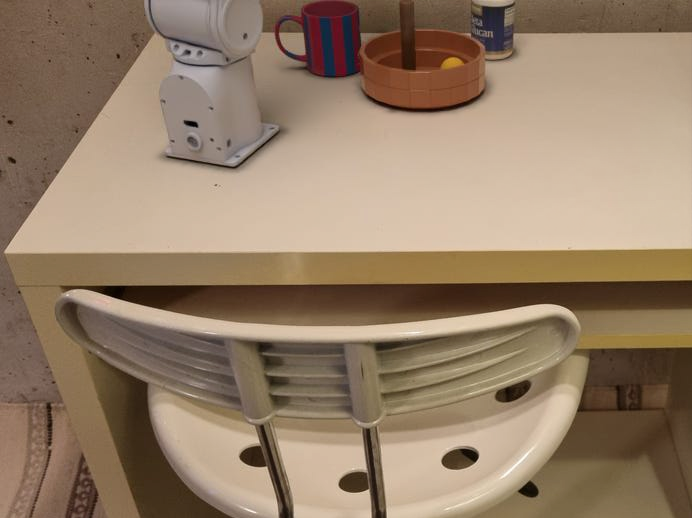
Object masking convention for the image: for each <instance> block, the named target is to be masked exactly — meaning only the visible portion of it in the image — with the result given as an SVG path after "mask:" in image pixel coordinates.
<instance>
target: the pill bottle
mask: <svg viewBox="0 0 692 518" xmlns="http://www.w3.org/2000/svg"><path fill="white" fill-rule="evenodd" d="M515 9H516V0H470V36H471V37H473V38H475V39H477V40H479V41H480V42H481V43H482V44H483V45H484V46H485V60H491V61H493V60H495V61H496V60H503V59H506V58H508V57H510V56H511V55H512V54H513V50H514V31H515V11H516V10H515Z"/></svg>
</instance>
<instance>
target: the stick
mask: <svg viewBox="0 0 692 518" xmlns="http://www.w3.org/2000/svg"><path fill="white" fill-rule="evenodd" d="M398 4H399V5H398V6H399V9H398V10H399V30H400V31H401V54H402V69H405V70H416V50H415V29H416V25H415V24H416V22H415V1H414V0H399V1H398Z"/></svg>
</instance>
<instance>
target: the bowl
mask: <svg viewBox="0 0 692 518" xmlns="http://www.w3.org/2000/svg"><path fill="white" fill-rule="evenodd" d="M415 50H416V70H405V69H402V54H401V31H400V29H397V30H393V31H387V32H384V33H380V34H377V35H375V36H372V37H370V38H368V39H367V40H365V41H364V42H363V43H361V47H360V50H359V61H360V71H359V73H360V85H361V88H362V89H363V91H364V93H365V94H366V95H367V96H369V97H371V98H372V99H374V100H376V101H378V102H381V103H384V104H386V105H389V106H392V107H397V108H401V109H408V110H409V109H410V110H437V109H445V108H450V107H453V106H457V105H460V104H463V103H465V102H468V101H470V100H471V99H474V98H476V97H477V96H479V95H480V94H481V93H482V91H483V90H484V89H485V87H486V59H485V46H484V45H483V44H482V43H481V42H480V41H479V40H477V39H475V38H473V37H471V35H468V34H465V33H461V32H457V31H454V30H447V29H440V28H439V29H438V28H415ZM452 57H455V58H458V59H460V60H461V61H462V62H463V63H464V65H461V66H457V67H452V68H448V69H440V68H441V65H442V63H443V62H444V61H445V60H446V59H448V58H452Z"/></svg>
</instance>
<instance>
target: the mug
mask: <svg viewBox="0 0 692 518" xmlns="http://www.w3.org/2000/svg"><path fill="white" fill-rule="evenodd" d="M360 20H361V19H360V8H359V6H358V5H357V4H356V3H353V2H350V1H346V0H318V1H312V2H309V3H307V4H304V5H303V6H302V7H301V8H300V16H297V15H293V14H286V15H281V16H280V17H279V18H278V19H277V20H276V23H275V25H274V38H275V42H276V45H277V47H278V49H279V50H280V51H281V52H282V54H284V55H285V56H286V57H287V58H288V59H289V58H290V59H291V60H294V61H297V62H302V63H306V65H307V69H308V71H309V72H310V73H312V74H313V75H316V76H321V77H328V78H338V77H339V78H341V77H347V76H351V75H354V74H356V73H358V72H360V61H359V50H360V47H361V45H362V34H361V33H362V32H361V21H360ZM286 21H293V22H296V23H297V24H299V26H301V28H302V33H303V41H304V50H305V54H301V55H300V54H297V53H296V54H295V53H293V52H291V51H289V50H287V49H286V48H285V47H284V46H283V43H282V41H281V38H280V28H281V25H282V24H283V23H284V22H286Z"/></svg>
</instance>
